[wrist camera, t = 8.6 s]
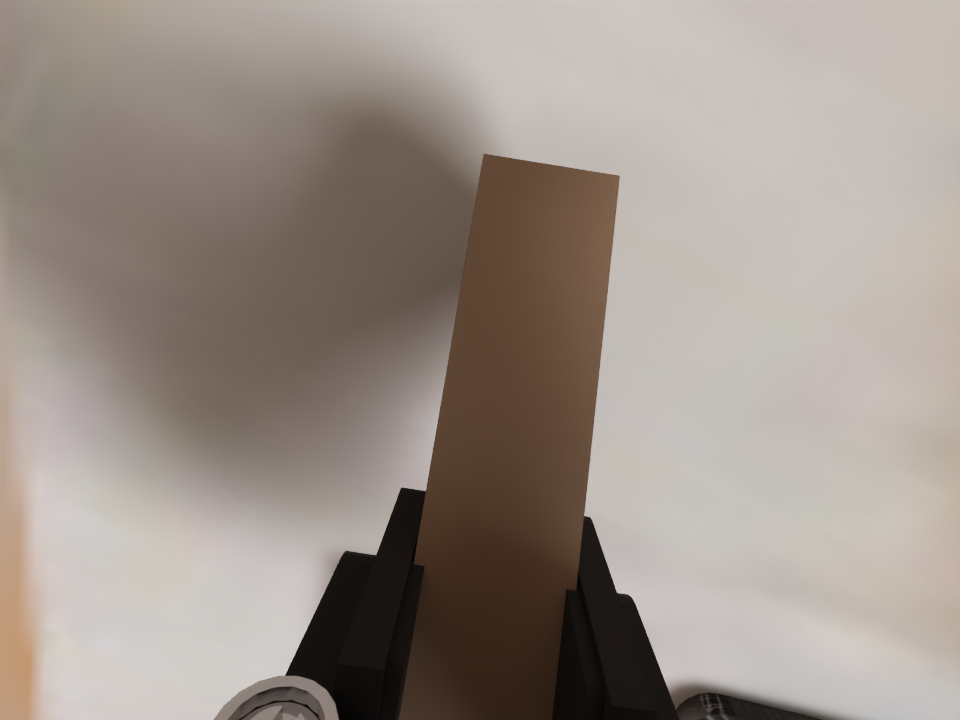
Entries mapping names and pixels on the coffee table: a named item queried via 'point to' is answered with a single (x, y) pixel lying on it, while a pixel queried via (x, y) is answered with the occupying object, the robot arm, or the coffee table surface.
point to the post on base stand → (512, 445)
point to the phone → (731, 709)
